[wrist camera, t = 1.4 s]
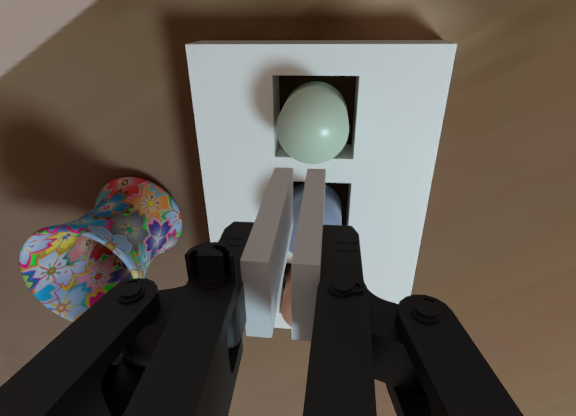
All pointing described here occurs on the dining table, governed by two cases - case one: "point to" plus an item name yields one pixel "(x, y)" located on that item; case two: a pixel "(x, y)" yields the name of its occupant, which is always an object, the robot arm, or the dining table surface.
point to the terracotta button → (287, 301)
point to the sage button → (313, 123)
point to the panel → (353, 157)
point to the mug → (100, 246)
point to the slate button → (330, 210)
